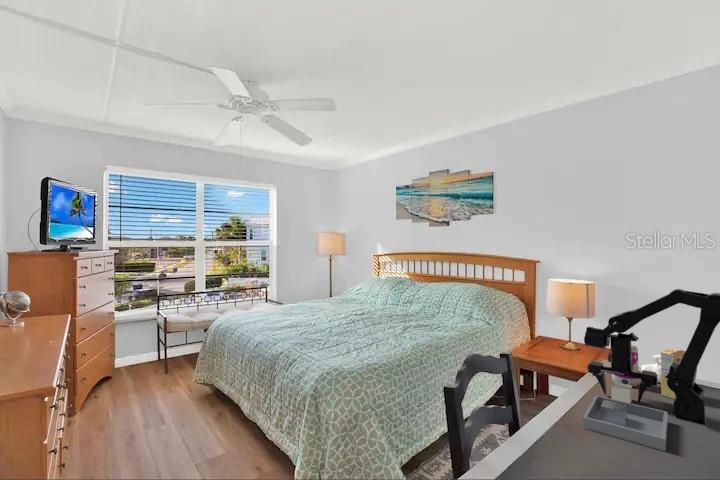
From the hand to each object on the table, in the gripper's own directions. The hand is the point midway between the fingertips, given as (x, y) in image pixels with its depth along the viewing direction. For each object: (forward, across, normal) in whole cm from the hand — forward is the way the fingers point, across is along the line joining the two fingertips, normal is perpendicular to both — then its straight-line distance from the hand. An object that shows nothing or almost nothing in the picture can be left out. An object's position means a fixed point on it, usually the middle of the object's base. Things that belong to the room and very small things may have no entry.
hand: (621, 398), depth 121 cm
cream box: (+1, 0, 0) cm, 1 cm away
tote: (+1, -3, +20) cm, 20 cm away
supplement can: (+1, +1, -20) cm, 20 cm away
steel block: (0, 0, +18) cm, 18 cm away
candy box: (+1, -13, -18) cm, 22 cm away
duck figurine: (+1, -9, -31) cm, 32 cm away
